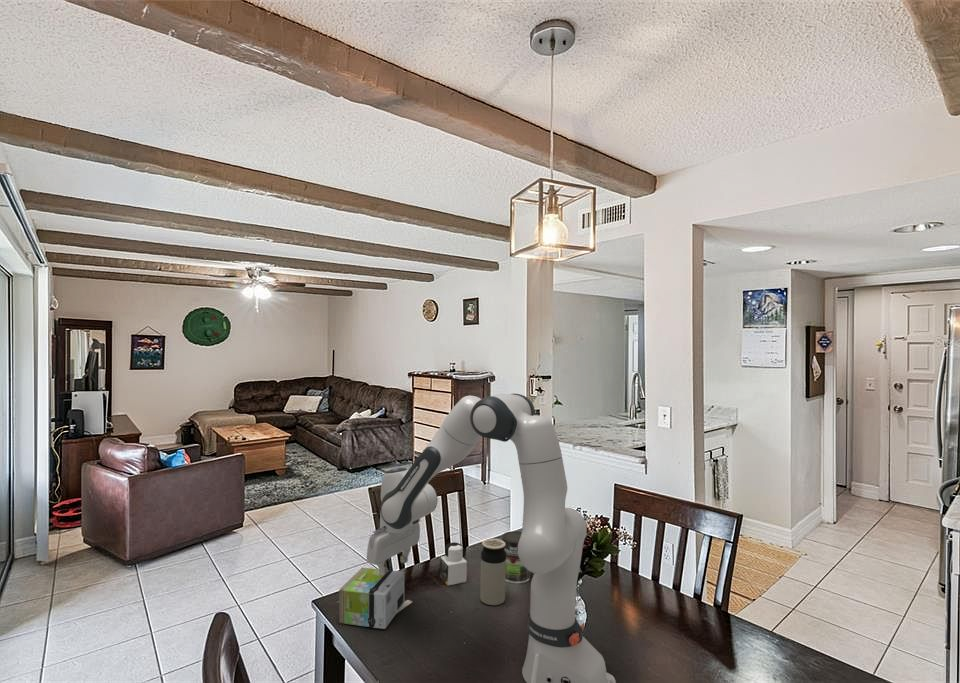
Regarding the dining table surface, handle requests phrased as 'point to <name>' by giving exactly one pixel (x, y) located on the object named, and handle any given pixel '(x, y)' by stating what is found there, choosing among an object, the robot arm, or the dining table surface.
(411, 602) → the strip
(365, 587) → the tea box
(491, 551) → the travel mug
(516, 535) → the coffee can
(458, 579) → the medicine bottle
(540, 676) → the robot arm
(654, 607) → the dining table surface
